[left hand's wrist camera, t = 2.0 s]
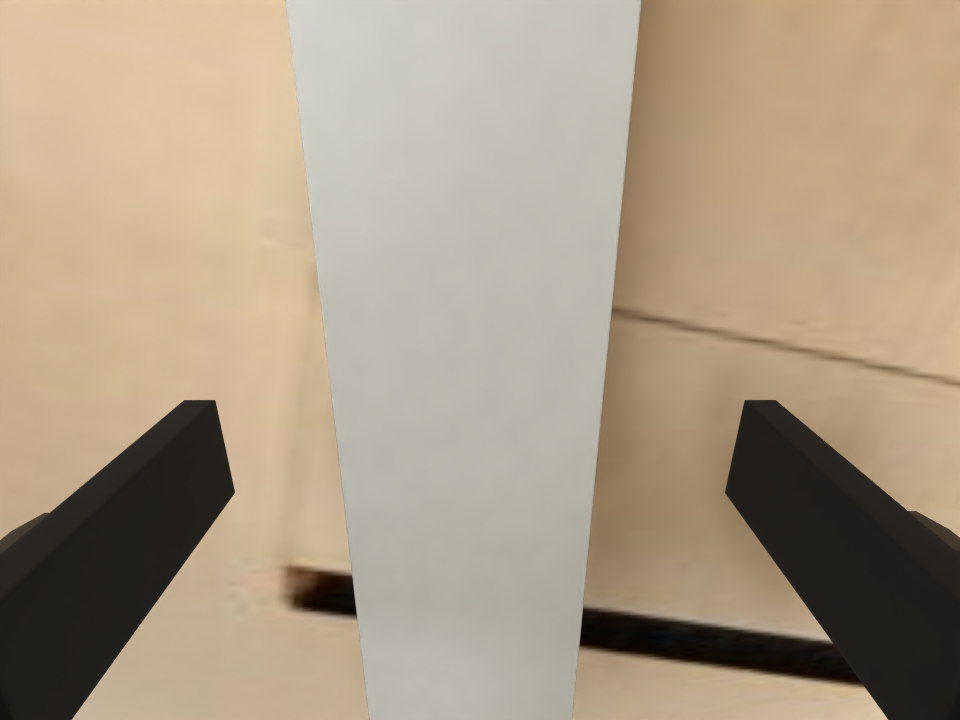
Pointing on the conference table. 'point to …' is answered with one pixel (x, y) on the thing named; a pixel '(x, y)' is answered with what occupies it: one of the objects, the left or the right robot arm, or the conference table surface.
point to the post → (466, 327)
